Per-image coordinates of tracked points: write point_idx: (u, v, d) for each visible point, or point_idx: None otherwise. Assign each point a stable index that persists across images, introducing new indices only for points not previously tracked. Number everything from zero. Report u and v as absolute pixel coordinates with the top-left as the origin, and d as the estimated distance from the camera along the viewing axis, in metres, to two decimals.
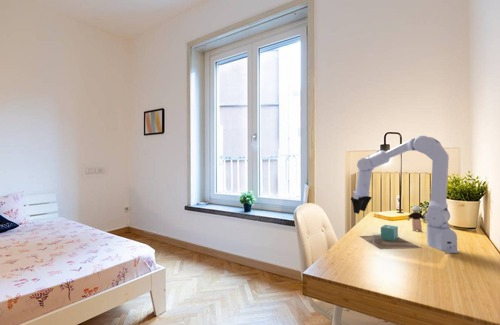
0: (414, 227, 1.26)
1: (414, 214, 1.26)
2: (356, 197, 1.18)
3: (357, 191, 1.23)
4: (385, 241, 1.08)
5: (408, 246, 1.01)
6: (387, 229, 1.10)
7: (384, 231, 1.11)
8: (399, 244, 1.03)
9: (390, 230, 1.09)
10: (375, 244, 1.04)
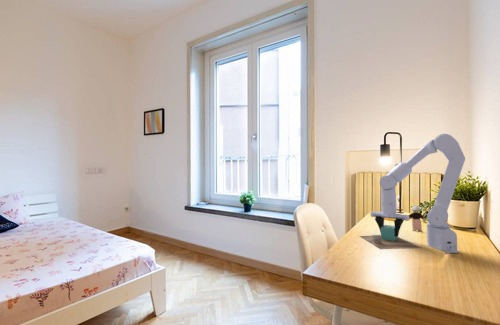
0: (414, 227, 1.26)
1: (414, 214, 1.26)
2: (408, 218, 1.07)
3: (394, 213, 1.10)
4: (385, 241, 1.08)
5: (408, 246, 1.01)
6: (387, 229, 1.10)
7: (384, 231, 1.11)
8: (399, 244, 1.03)
9: (390, 230, 1.09)
10: (375, 244, 1.04)
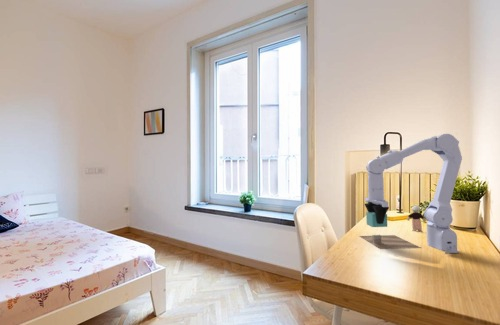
0: (414, 227, 1.26)
1: (414, 214, 1.26)
2: (386, 205, 1.00)
3: (375, 198, 1.05)
4: (385, 241, 1.08)
5: (408, 246, 1.01)
6: (369, 214, 1.07)
7: (368, 216, 1.08)
8: (399, 244, 1.03)
9: (370, 215, 1.06)
10: (375, 244, 1.04)
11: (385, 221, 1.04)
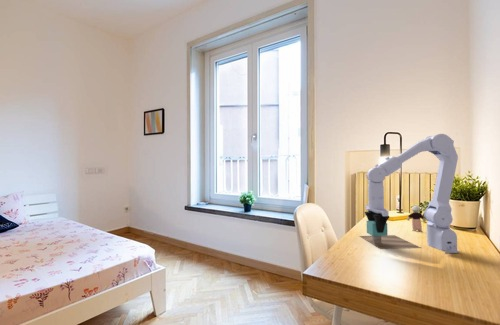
0: (414, 227, 1.26)
1: (414, 214, 1.26)
2: (387, 214, 1.00)
3: (376, 207, 1.04)
4: (385, 241, 1.08)
5: (408, 246, 1.01)
6: (369, 223, 1.07)
7: (368, 224, 1.08)
8: (399, 244, 1.03)
9: (370, 224, 1.06)
10: (375, 244, 1.04)
11: (385, 230, 1.04)
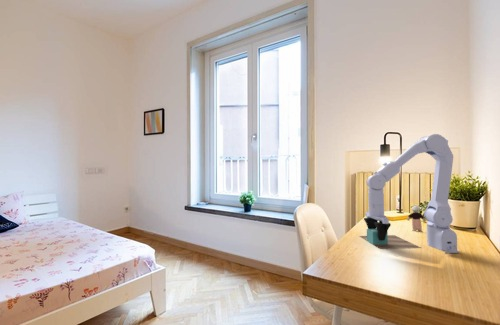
0: (414, 227, 1.26)
1: (414, 214, 1.26)
2: (387, 221, 1.00)
3: (376, 214, 1.04)
4: None
5: (408, 246, 1.01)
6: (369, 231, 1.07)
7: (368, 233, 1.08)
8: (399, 244, 1.03)
9: (371, 233, 1.06)
10: None
11: (385, 238, 1.04)
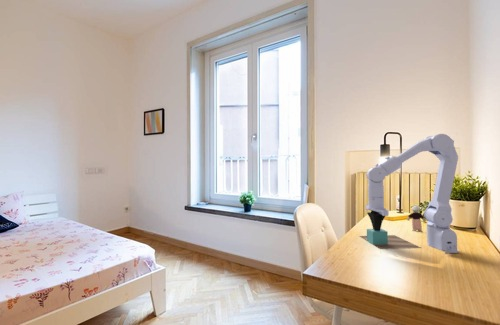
0: (414, 227, 1.26)
1: (414, 214, 1.26)
2: (387, 214, 1.00)
3: (376, 207, 1.04)
4: None
5: (408, 246, 1.01)
6: (369, 231, 1.07)
7: (368, 233, 1.08)
8: (399, 244, 1.03)
9: (371, 233, 1.06)
10: None
11: (385, 238, 1.04)
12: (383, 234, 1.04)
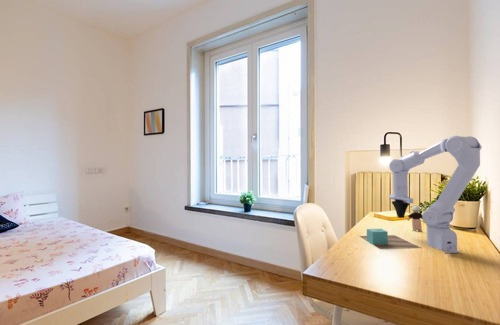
0: (414, 227, 1.26)
1: (414, 214, 1.26)
2: (411, 201, 1.08)
3: (400, 195, 1.13)
4: None
5: (408, 246, 1.01)
6: (369, 231, 1.07)
7: (368, 233, 1.08)
8: (399, 244, 1.03)
9: (371, 233, 1.06)
10: None
11: (385, 238, 1.04)
12: (383, 234, 1.04)
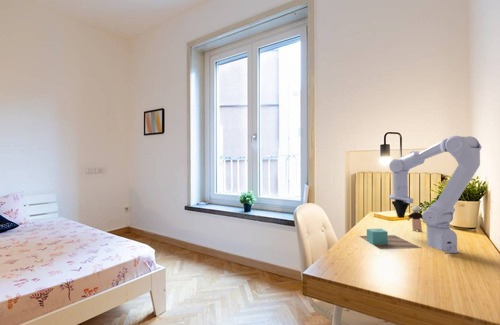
0: (414, 227, 1.26)
1: (414, 214, 1.26)
2: (412, 201, 1.08)
3: (400, 195, 1.13)
4: None
5: (408, 246, 1.01)
6: (369, 231, 1.07)
7: (368, 233, 1.08)
8: (399, 244, 1.03)
9: (371, 233, 1.06)
10: None
11: (385, 238, 1.04)
12: (383, 234, 1.04)
